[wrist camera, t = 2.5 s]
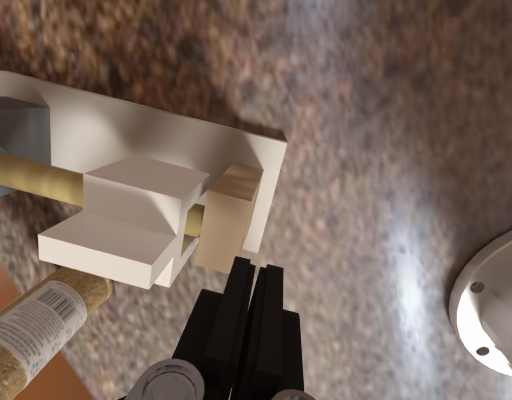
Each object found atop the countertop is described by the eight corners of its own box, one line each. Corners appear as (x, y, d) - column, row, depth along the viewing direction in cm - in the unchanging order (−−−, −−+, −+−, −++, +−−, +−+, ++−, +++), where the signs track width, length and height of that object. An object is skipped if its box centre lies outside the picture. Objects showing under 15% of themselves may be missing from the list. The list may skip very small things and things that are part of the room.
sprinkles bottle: (53, 265, 24) (-208, 449, 11) (94, 247, 23) (-147, 428, 10) (86, 307, 25) (-120, 516, 13) (126, 291, 24) (-56, 504, 11)
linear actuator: (287, 141, 18) (283, 177, 10) (258, 247, 21) (236, 346, 13) (8, 71, 19) (-218, 49, 11) (17, 183, 22) (-157, 236, 13)
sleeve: (210, 173, 15) (156, 222, 9) (197, 243, 16) (144, 324, 10) (136, 154, 15) (35, 190, 9) (130, 225, 16) (41, 295, 11)
